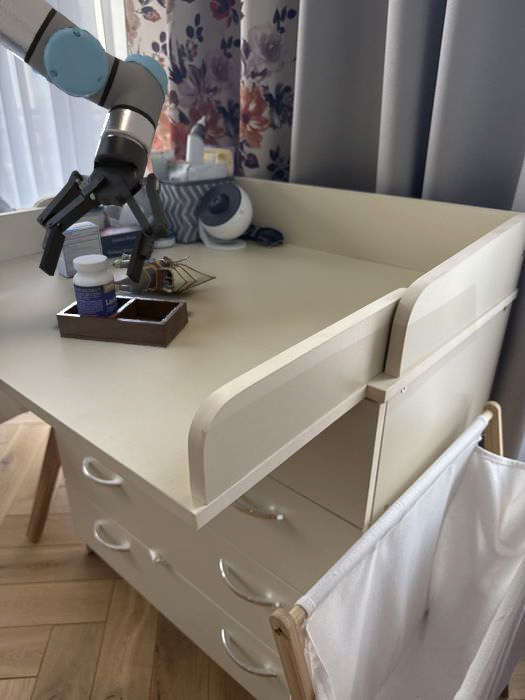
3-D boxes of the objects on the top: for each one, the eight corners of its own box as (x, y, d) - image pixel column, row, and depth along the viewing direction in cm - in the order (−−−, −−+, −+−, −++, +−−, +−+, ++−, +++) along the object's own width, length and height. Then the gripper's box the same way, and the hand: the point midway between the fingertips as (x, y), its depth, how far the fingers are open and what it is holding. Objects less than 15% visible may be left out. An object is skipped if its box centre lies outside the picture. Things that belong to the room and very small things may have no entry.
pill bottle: (118, 329, 79) (108, 263, 75) (78, 332, 78) (65, 266, 74) (121, 313, 84) (112, 251, 80) (83, 316, 84) (72, 253, 79)
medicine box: (94, 263, 109) (87, 220, 105) (105, 268, 106) (98, 224, 102) (57, 272, 104) (48, 228, 100) (67, 278, 101) (58, 232, 97)
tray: (166, 347, 75) (163, 324, 74) (60, 336, 79) (55, 314, 77) (188, 322, 83) (186, 301, 81) (91, 313, 86) (87, 293, 85)
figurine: (148, 240, 104) (230, 248, 99) (150, 271, 107) (230, 280, 102) (85, 266, 87) (180, 277, 82) (89, 302, 89) (182, 315, 84)
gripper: (208, 167, 84) (179, 293, 78) (65, 163, 89) (27, 280, 83) (193, 133, 77) (160, 269, 71) (39, 131, 82) (-4, 257, 76)
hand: (88, 275), depth 77 cm, fingers open, 13 cm apart
